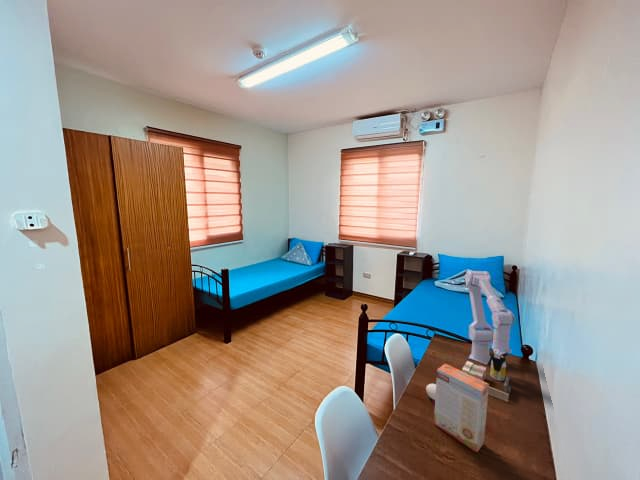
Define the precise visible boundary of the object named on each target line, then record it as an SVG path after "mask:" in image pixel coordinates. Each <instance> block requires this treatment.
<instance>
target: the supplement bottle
mask: <svg viewBox="0 0 640 480" xmlns="http://www.w3.org/2000/svg"><path fill="white" fill-rule="evenodd" d="M501 357H503V356H501ZM503 358H504V357H503ZM490 362H491V364H490V373H489V375H490V377H491V378H493V380H494V379H495V380H497V381H505V380H506V369H507V364H506V363H507V362H506V361H505V362H504V363H503V364H502V367H501V370H500V372H498V371H495V370H494V368H493V362H492V361H490Z"/></svg>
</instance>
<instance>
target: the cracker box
mask: <svg viewBox="0 0 640 480" xmlns="http://www.w3.org/2000/svg"><path fill="white" fill-rule="evenodd" d="M436 370H437V371H436V383H435V384H436V397H435V400H434V415H433V417H434V418H433V424H434V425H435V426H437V427H438V428H439V429H440V430H442V431H444V432H445V433H447V434H448V435H450V436H451V437H453V438H455V440H457V441H458V442H459V443H462V444H463V445H465V446H466V447H467V448H468V449H470V450H472V451H473V452H475V453H478V452H479V451H480V449H481V448H482V446H484V444H485V433H486V425H487V424H486V422H487V410H488V399H489V394H488V388H489V386H490V384H489V383H488V382H485V380H484V381H482V380H480V379H477V378H475V377H473V376H471V375H469V374H467V373H465V372H462V370H460V369H459V368H456V367H454V366H452V365H450V364H447V363H444V364H442V365H441V366H440V367H438V368H437V369H436Z"/></svg>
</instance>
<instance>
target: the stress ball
mask: <svg viewBox="0 0 640 480" xmlns="http://www.w3.org/2000/svg"><path fill="white" fill-rule="evenodd" d="M425 391H426V394H427V395H428V397H429V398H431V399H432V401H431V403H433V404H435V397H436V383H429V384H427V385H426V387H425Z"/></svg>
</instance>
